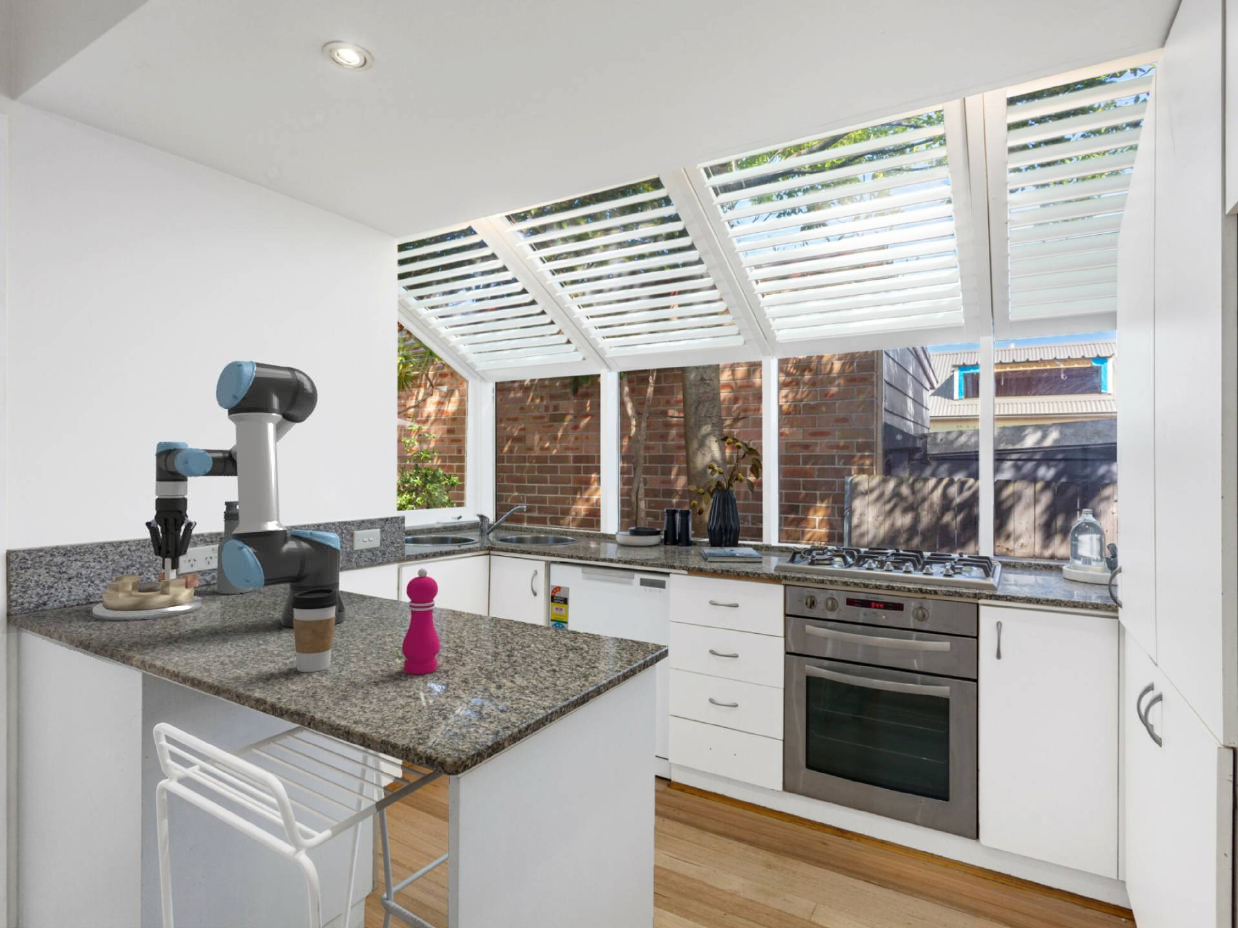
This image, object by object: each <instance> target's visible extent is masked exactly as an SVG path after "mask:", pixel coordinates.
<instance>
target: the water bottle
mask: <svg viewBox="0 0 1238 928" xmlns="http://www.w3.org/2000/svg"><path fill="white" fill-rule="evenodd" d="M224 506H225V510H224V511H223V522H224V527H223V528H224V529H223V530H224V531H223V540H222V541H221V542H220V543H219V544H218V545H217V563H216V564H217V565H216V567H217V568H216V570H217V571H216V573H217V574H216V575H217V576H216V592H217V593H218V594H221V595H226V594H232V595H241V594H240V593H243V594H247V593H246V592H248V593H250V592H252V591H253V589H254V588H250V589H240V588H237V587H235V586H234V585H233V584H232V583H231V582H230V581H229V579H228V578H227V576H226V574H225V572H224V569H223V565H222V551H223V547H224V545H225V543H227V542H228V541H230V540H232V532H233V531H234V530H235V529H236V528H237V527H238V526H239V508H238V506H239V505H238V500H230V501H229V500H227V501H224Z"/></svg>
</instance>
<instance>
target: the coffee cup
mask: <svg viewBox="0 0 1238 928" xmlns="http://www.w3.org/2000/svg"><path fill="white" fill-rule="evenodd" d="M337 601H338V600H337V595H336V590H334V589H327V588H322V589H314V590H309V591H305V592H300V593H297V594H295V595H294V596H293V601H292V603H291V604H292V606H291V607H292V608H294V617H293V625H294V627H293V634H294V635H293V636H294V647H295V648H294V649H295V657H296V659H295V660H296V670H297V671H298V672H302V673H313V672H320V671H324V670H328V669H329V668H330V666H331V656H332V648H333V641H334V634H335V625H336V624H335V617H336V615H335V606H336V605H337V604H338V603H337Z"/></svg>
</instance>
